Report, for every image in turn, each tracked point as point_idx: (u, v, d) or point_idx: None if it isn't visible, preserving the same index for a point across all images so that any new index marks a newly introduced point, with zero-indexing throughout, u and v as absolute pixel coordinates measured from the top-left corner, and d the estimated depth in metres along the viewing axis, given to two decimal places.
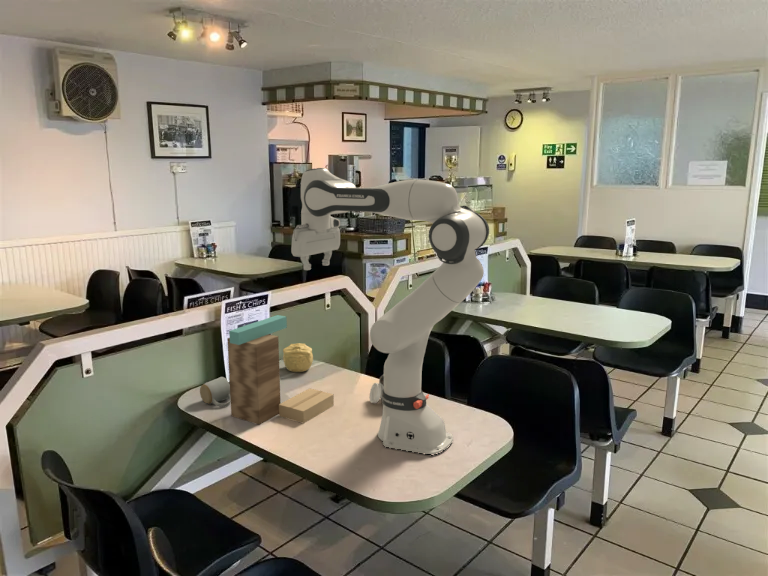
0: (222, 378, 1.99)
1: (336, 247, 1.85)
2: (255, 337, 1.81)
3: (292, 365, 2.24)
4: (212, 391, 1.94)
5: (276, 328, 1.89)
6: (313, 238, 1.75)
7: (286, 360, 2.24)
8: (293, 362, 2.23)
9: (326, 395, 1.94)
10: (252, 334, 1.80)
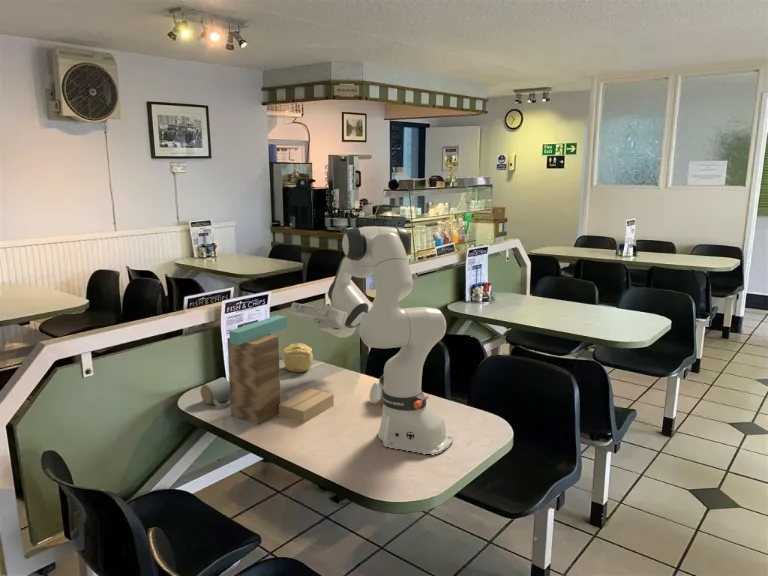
0: (223, 378, 1.98)
1: (333, 309, 2.02)
2: (255, 337, 1.81)
3: (292, 365, 2.24)
4: (213, 392, 1.93)
5: (276, 328, 1.89)
6: None
7: (286, 360, 2.24)
8: (293, 362, 2.23)
9: (326, 395, 1.94)
10: (252, 334, 1.80)
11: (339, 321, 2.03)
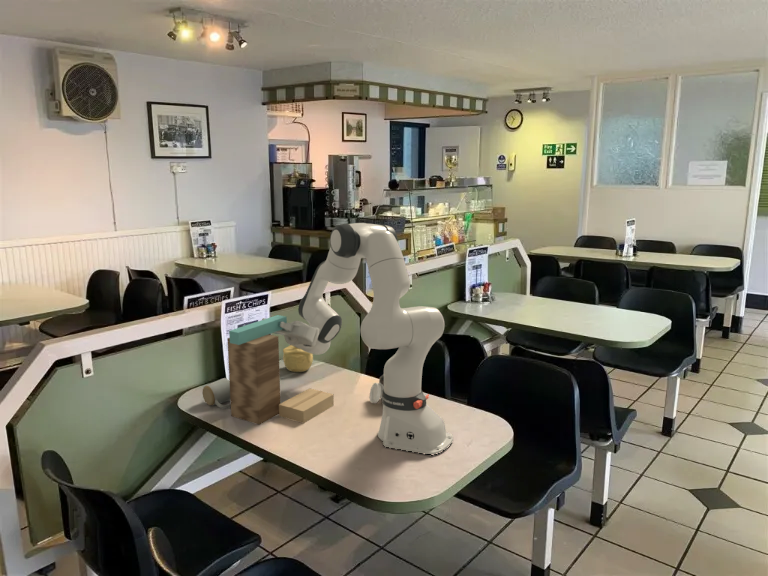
0: (225, 379, 1.98)
1: (303, 325, 1.91)
2: (255, 337, 1.81)
3: (292, 365, 2.24)
4: (214, 393, 1.92)
5: (276, 329, 1.89)
6: None
7: (286, 360, 2.24)
8: (293, 362, 2.23)
9: (326, 395, 1.94)
10: (252, 334, 1.80)
11: (310, 338, 1.92)
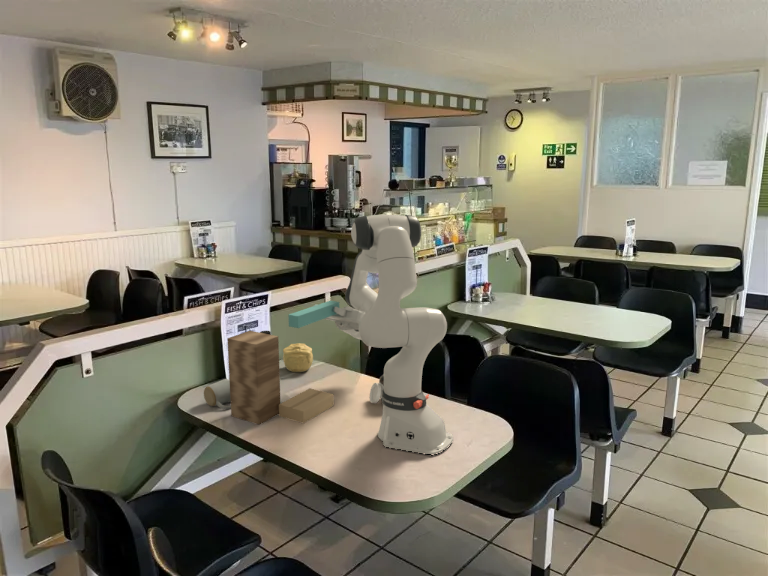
0: (226, 380, 1.97)
1: (356, 310, 1.96)
2: (312, 321, 1.86)
3: (292, 365, 2.24)
4: (216, 393, 1.92)
5: (330, 313, 1.94)
6: None
7: (286, 360, 2.24)
8: (293, 362, 2.23)
9: (326, 395, 1.94)
10: (309, 318, 1.84)
11: None
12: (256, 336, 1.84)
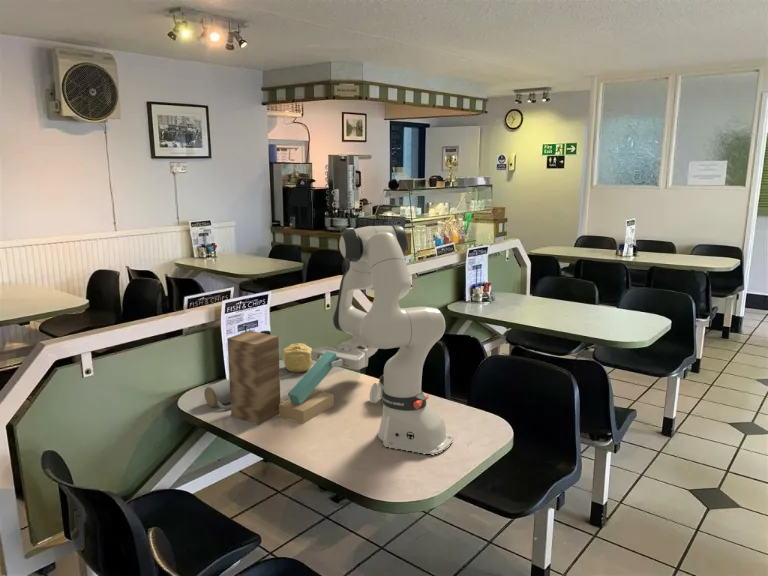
0: (227, 380, 1.97)
1: (353, 358, 1.98)
2: (312, 389, 1.91)
3: (292, 365, 2.24)
4: (217, 394, 1.91)
5: (329, 369, 1.97)
6: (333, 351, 2.07)
7: (286, 360, 2.24)
8: (293, 362, 2.23)
9: (326, 395, 1.94)
10: (309, 389, 1.89)
11: (362, 366, 2.00)
12: (256, 336, 1.84)
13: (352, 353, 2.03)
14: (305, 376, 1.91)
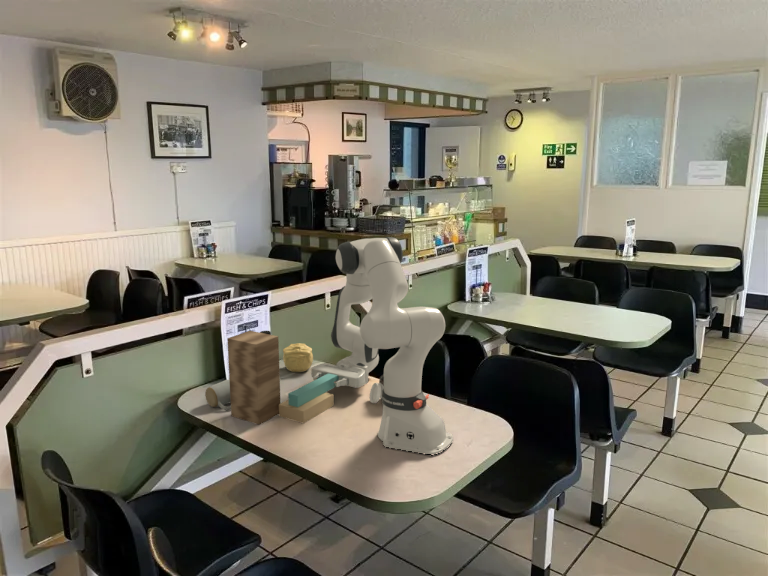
0: (228, 381, 1.96)
1: (353, 376, 1.99)
2: (311, 398, 1.90)
3: (292, 365, 2.24)
4: (217, 394, 1.91)
5: (329, 387, 1.98)
6: (333, 368, 2.08)
7: (286, 360, 2.24)
8: (293, 362, 2.23)
9: (326, 395, 1.94)
10: (309, 396, 1.89)
11: (362, 384, 2.01)
12: (256, 336, 1.84)
13: (352, 370, 2.05)
14: (307, 385, 1.92)
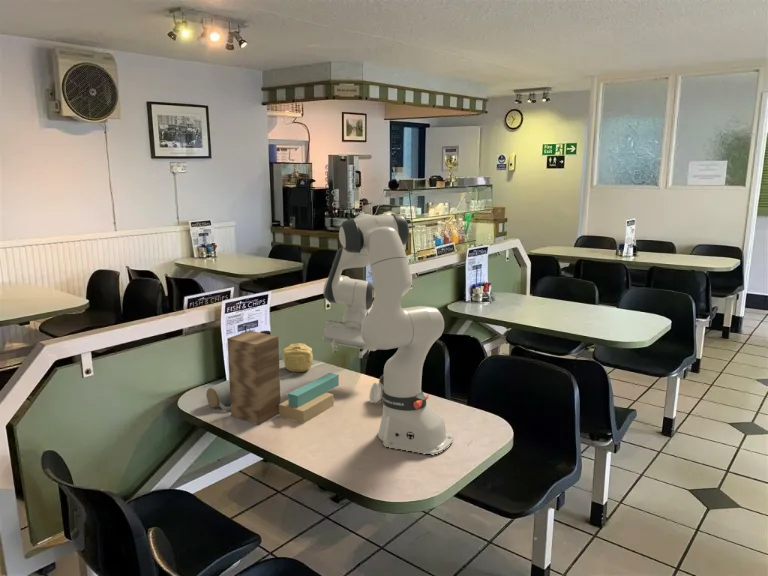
0: (229, 381, 1.96)
1: None
2: (311, 398, 1.90)
3: (292, 365, 2.24)
4: (219, 395, 1.91)
5: (329, 387, 1.98)
6: (343, 329, 2.12)
7: (286, 360, 2.24)
8: (293, 362, 2.23)
9: (326, 395, 1.94)
10: (309, 396, 1.89)
11: None
12: (256, 336, 1.84)
13: None
14: (307, 385, 1.92)
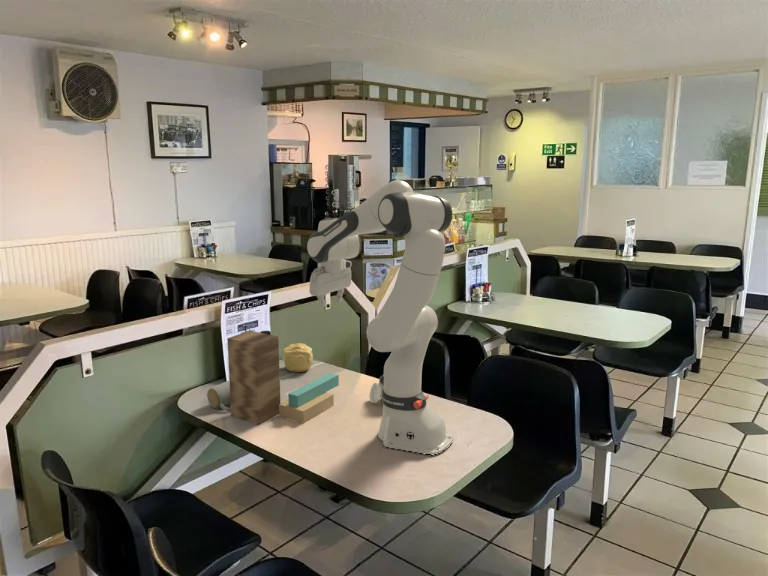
0: None
1: (348, 285, 2.10)
2: (311, 398, 1.90)
3: (292, 365, 2.24)
4: (220, 395, 1.90)
5: (329, 387, 1.98)
6: (328, 279, 2.00)
7: (286, 360, 2.24)
8: (293, 362, 2.23)
9: (326, 395, 1.94)
10: (309, 396, 1.89)
11: None
12: (256, 336, 1.84)
13: (342, 273, 2.06)
14: (307, 385, 1.92)
